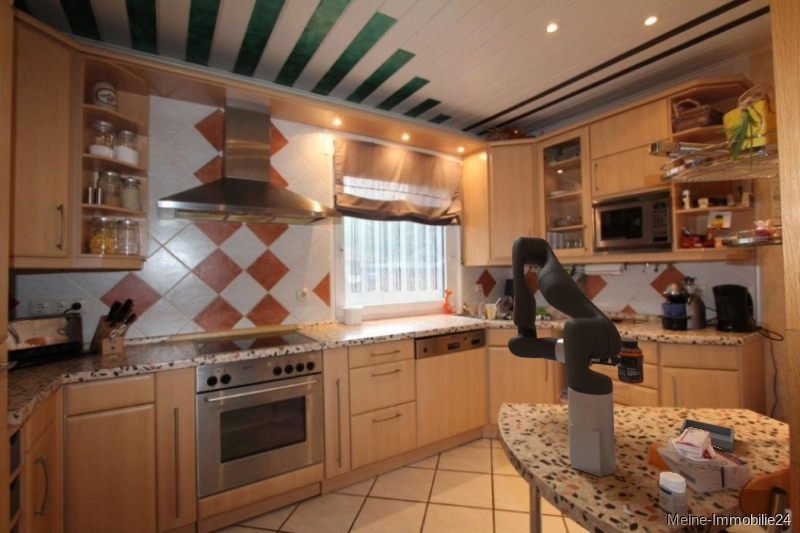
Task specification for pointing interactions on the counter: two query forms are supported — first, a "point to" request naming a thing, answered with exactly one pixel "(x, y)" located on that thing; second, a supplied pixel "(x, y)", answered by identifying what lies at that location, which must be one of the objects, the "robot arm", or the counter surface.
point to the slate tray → (713, 433)
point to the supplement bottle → (631, 372)
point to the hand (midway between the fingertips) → (640, 360)
